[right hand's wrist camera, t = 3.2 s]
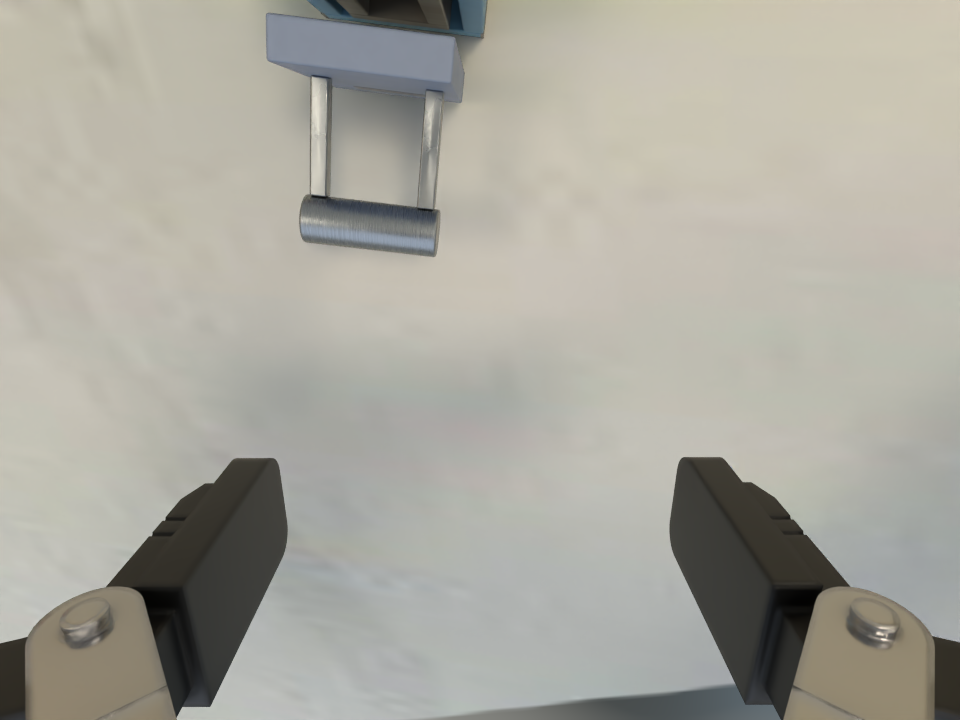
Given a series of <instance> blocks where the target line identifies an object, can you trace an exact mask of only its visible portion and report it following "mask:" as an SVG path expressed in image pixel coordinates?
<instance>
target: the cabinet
mask: <svg viewBox="0 0 960 720" xmlns="http://www.w3.org/2000/svg"><path fill="white" fill-rule="evenodd" d="M307 1H308V2H309V3H311V4H312V5H313V6H314V7H315V8H317V9H318V10H319V11H320V12H321V14H322V15H324V16H325V17H326V18H334V19H342V20H350V21H358V22H365V23H373V24H381V25H389V26H396V27H404V28H412V29H420V30H428V31H435V32H443V33H451V34H459V35H466V36H474V37H481V38H484V30H485V20H486V11H487V1H488V0H452V8H451V20H450V29H449V30H444V29H437V28H429V27H421V26H413V25H405V24H398V23H390V22H382V21H374V20H367V19H359V18H353V17H352V16H351V15H350V14H349V12H347V11H346V10H345V9H344V8H343V7H342V6H341V5H340V4H339V3H338V2H337V1H336V0H307Z"/></svg>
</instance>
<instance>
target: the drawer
mask: <svg viewBox="0 0 960 720" xmlns="http://www.w3.org/2000/svg"><path fill="white" fill-rule="evenodd" d="M336 1H337V2H338V3H339V4H340V5H341V6H342V7H343V8H344V9H345V10H346V11H347V12H349V14H350V15H351V16H352V17H353V18H359V19H367V20H374V21H382V22H390V23H398V24H405V25H413V26H421V27H429V28H437V29H444V30H449V29H450V20H451V8H452V0H336ZM266 40H267V60H268V61H270V62H272V63H275V64H277V65H280V66H282V67H285V68H287V69H290V70H293V71H295V72H298V73H300V74H303V75H305V76H308V77H310V78H311V94H310V194H308V195H306V196H305V197H304V199H303V201H302V204H301V209H300V218H299V224H300V233H301V237H302V239H303V241H305V242H307V243H316V244H325V245H333V246H342V247H351V248H359V249H368V250H377V251H385V252H394V253H403V254H412V255H420V256H429V257H435V256H436V254H437V248H438V240H439V231H440V210H437V209H434V208H435V202H436V190H437V178H438V166H439V154H440V142H441V130H442V118H443V106H444V101H448V102H456V103H461V102H462V94H463V84H464V69H463V66H462V62H461V58H460V54H459V51H458V47H457V43H456V40H455V37H453V36H445V35H438V34H430V33H422V32H414V31H407V30H399V29H391V28H383V27H375V26H368V25H360V24H352V23H344V22H336V21H329V20H321V19H313V18H305V17H298V16H290V15H282V14H274V13H267V14H266ZM332 86H333V87H336V88H344V89H352V90H360V91H368V92H376V93H384V94H392V95H400V96H408V97H416V98H424V99H425V105H424V119H423V132H422V146H421V160H420V174H419V188H418V202H417V207H411V206H403V205H394V204H386V203H377V202H369V201H361V200H352V199H344V198H335V197H327V196H330V179H331V126H332Z"/></svg>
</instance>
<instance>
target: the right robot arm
mask: <svg viewBox="0 0 960 720" xmlns="http://www.w3.org/2000/svg"><path fill="white" fill-rule="evenodd" d="M287 532H288V528H287V518H286V511H285V504H284V497H283V490H282V483H281V476H280V470H279V465H278V463H277V461H276V460H275V459H274V458H236V459H234V460H232V461H231V463H230V464H229V465H228V466H227V468H226V469H225V470H224V471H223V473H222V474H221V475H220V476H219V478H218V479H217V480H216V481H215V483H214V484H204V485H202V486H201V487H199V488H198V489H196V490H194V491H193V492H191V493H190V494H188V495H187V496H185V497H184V498H182V499H181V500H180V501H179V502H178V503H177V505H176V506H175V507H174V508H173V509H172V510H171V512H170V513H169V514H168V515H167V516H166V520H165V521H162V522H161V523H160V524H159V526H158V527H157V528H156V529H155V530H154V531H153V535H152V536H149V537H148V538H147V540H146V541H145V542H144V543H143V544H142V545H141V547H140V548H139V549H138V550H137V551H136V553H135V554H134V555H133V556H132V557H131V558H130V560H129V561H128V562H127V563H126V564H125V565H124V567H123V568H122V569H121V570H120V571H119V572H118V574H117V575H116V576H115V577H114V578H113V579H112V581H111V582H110V583H109V584H108V585H107V586H106V588H100V589H96V590H92V591H89V592H86V593H83V594H81V595H78V596H76V597H74V598H72V599H70V600H68V601H66V602H64V603H62V604H61V605H59V606H57V607H56V608H54V609H53V610H52V611H50V612H49V613H48V614H46V615H45V616H44V617H43V618H42V619H41V620H40V621H39V622H38V623H37V624H36V625H35V626H34V628H33V629H32V631H31V632H30V634H29V635H28V637H25V638H22V639H18V640H13V641H9V642H5V643H0V720H177V719H176V718H177V716H178V714H179V712H180V710H181V708H182V707H210V706H211V704H212V702H213V700H214V698H215V696H216V694H217V692H218V690H219V687H220V685H221V683H222V681H223V679H224V677H225V675H226V673H227V671H228V669H229V667H230V665H231V663H232V661H233V659H234V657H235V654H236V652H237V650H238V648H239V646H240V644H241V642H242V640H243V638H244V636H245V634H246V632H247V630H248V628H249V626H250V623H251V621H252V619H253V617H254V615H255V613H256V611H257V609H258V607H259V605H260V603H261V601H262V599H263V597H264V595H265V592H266V590H267V588H268V586H269V584H270V582H271V580H272V578H273V576H274V574H275V572H276V570H277V568H278V566H279V564H280V562H281V559H282V557H283V555H284V552H285V548H286V543H287ZM670 541H671V546H672V550H673V553H674V556H675V558H676V560H677V562H678V564H679V567H680V569H681V571H682V573H683V575H684V577H685V579H686V581H687V583H688V585H689V587H690V590H691V592H692V594H693V596H694V598H695V600H696V602H697V604H698V606H699V608H700V610H701V613H702V615H703V617H704V619H705V621H706V623H707V625H708V627H709V629H710V631H711V633H712V636H713V638H714V640H715V642H716V644H717V646H718V648H719V650H720V652H721V654H722V656H723V659H724V661H725V663H726V665H727V667H728V669H729V671H730V673H731V675H732V677H733V679H734V682H735V684H736V686H737V688H738V690H739V692H740V694H741V696H742V698H743V700H744V702H745V704H746V705H770V704H771V705H774V707H775V709H776V711H777V713H778V715H779V717H780V719H781V720H960V643H959V642H955V641H951V640H946V639H942V638H938V637H933V636H932V635H931V634H930V632H929V631H928V629H927V628H926V626H925V625H924V624H923V623H922V622H921V621H920V620H919V619H918V618H917V617H916V616H915V615H914V614H912V613H911V612H910V611H908V610H907V609H906V608H904V607H903V606H901V605H899V604H898V603H896V602H894V601H892V600H890V599H888V598H886V597H884V596H882V595H879V594H877V593H874V592H871V591H868V590H864V589H860V588H854V587H850V586H849V584H848V583H847V582H846V581H845V580H844V579H843V577H842V576H841V575H840V574H839V573H838V572H837V570H836V569H835V568H834V567H833V566H832V564H831V563H830V562H829V561H828V560H827V559H826V557H825V556H824V555H823V554H822V553H821V551H820V550H819V549H818V548H817V547H816V546H815V544H814V543H813V542H812V541H811V540H810V538H809V537H808V536H807V535H804V534H803V530H802V529H801V528H800V527H799V525H798V524H797V523H796V522H795V521H794V520H791V518H790V515H789V514H788V512H787V511H786V510H785V509H784V508H783V507H782V505H781V504H780V503H779V502H778V501H777V500H776V498H775V497H773V496H771V495H770V494H768V493H767V492H765V491H764V490H762V489H761V488H759V487H758V486H756V485H755V484H753V483H751V482H742V481H741V480H740V478H739V477H738V476H737V475H736V473H735V472H734V471H733V470H732V468H731V467H730V466H729V465H728V463H727V462H726V461H725V460H724V459H723V458H721V457H683V458H682V459H681V460H680V462H679V464H678V468H677V475H676V482H675V489H674V496H673V503H672V511H671V518H670Z"/></svg>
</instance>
